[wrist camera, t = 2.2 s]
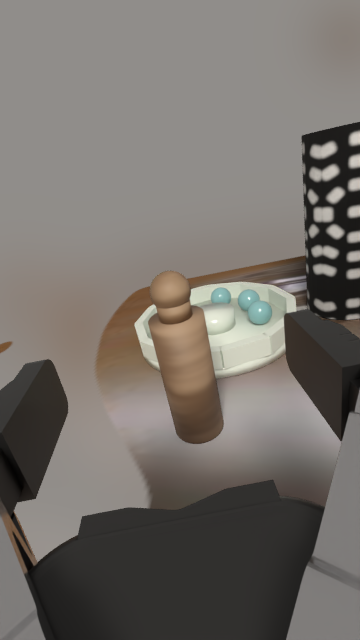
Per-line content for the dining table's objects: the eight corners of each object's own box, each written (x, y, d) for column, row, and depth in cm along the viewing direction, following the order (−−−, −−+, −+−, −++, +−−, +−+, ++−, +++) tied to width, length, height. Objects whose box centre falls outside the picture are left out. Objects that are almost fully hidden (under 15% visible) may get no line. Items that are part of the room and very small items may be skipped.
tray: (326, 315, 40) (326, 284, 38) (230, 403, 29) (224, 365, 27) (209, 296, 53) (205, 272, 52) (113, 350, 42) (104, 323, 41)
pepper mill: (233, 420, 27) (208, 264, 21) (200, 451, 25) (163, 285, 19) (198, 403, 30) (167, 261, 24) (166, 429, 27) (124, 279, 22)
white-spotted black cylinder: (366, 289, 44) (374, 120, 36) (393, 315, 37) (410, 110, 29) (302, 297, 46) (295, 137, 38) (314, 323, 39) (310, 132, 30)
